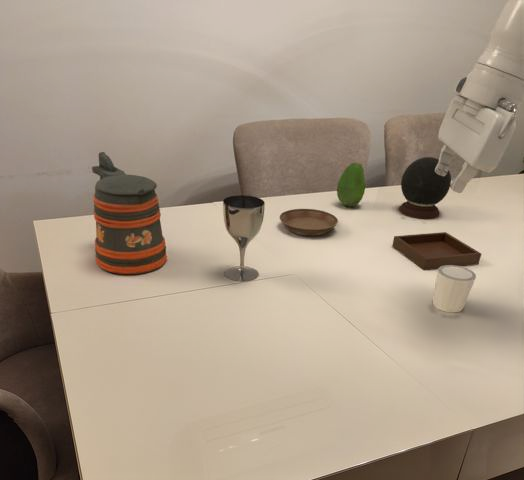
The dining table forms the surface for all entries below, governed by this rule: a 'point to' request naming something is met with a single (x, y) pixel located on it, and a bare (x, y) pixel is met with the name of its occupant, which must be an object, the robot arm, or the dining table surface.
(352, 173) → the avocado
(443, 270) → the white cup
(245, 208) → the wine glass
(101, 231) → the beer stein
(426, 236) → the tray
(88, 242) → the dining table surface
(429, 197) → the black ball on stand
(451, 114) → the robot arm
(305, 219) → the saucer
